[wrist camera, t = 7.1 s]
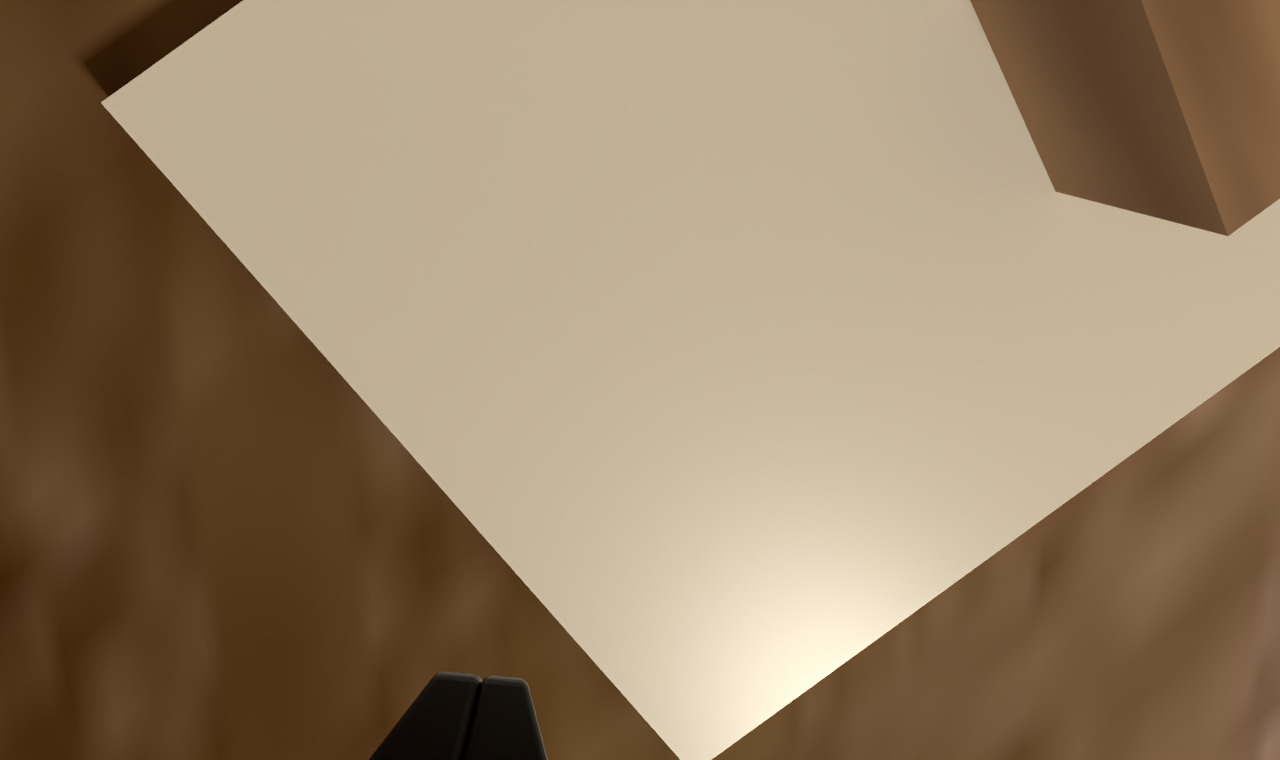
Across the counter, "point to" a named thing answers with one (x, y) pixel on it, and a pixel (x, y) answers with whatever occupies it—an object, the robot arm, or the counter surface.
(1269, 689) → the counter surface
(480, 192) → the cutting board
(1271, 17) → the walnut block
